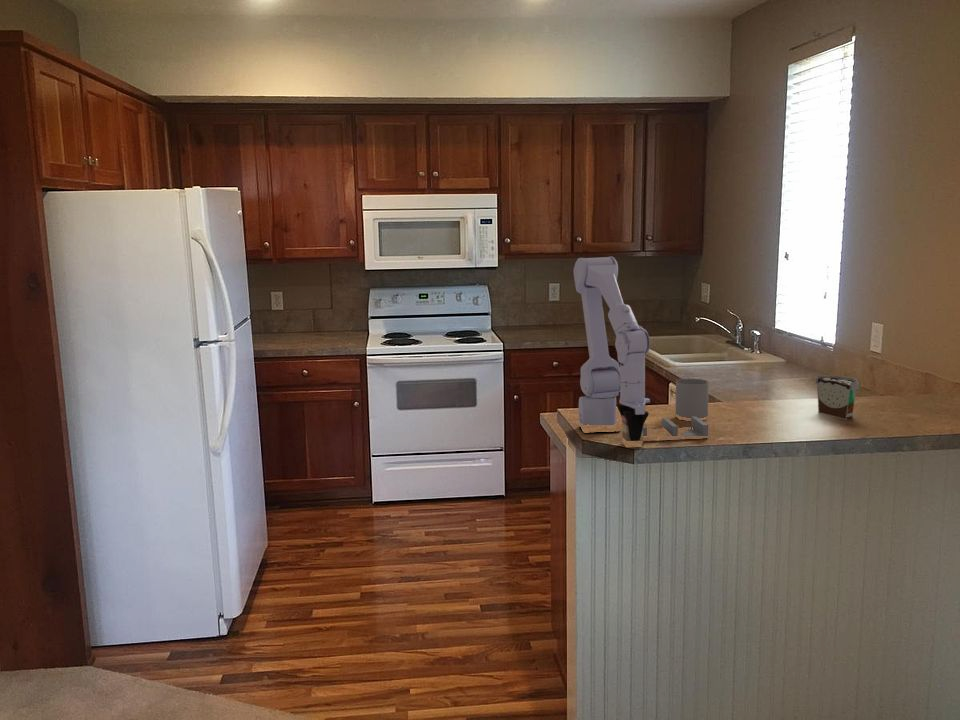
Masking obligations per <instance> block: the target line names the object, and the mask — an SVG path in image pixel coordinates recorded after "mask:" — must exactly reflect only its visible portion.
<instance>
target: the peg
mask: <svg viewBox="0 0 960 720" xmlns="http://www.w3.org/2000/svg"><path fill="white" fill-rule="evenodd" d="M621 427H622V428H621V429H622V431H621V434H622V436H621V437H623V438H624V439H625V440H626V441H631V440H630V436H629V429H628V424H627V420H626V417H625V415H622V417H621ZM638 441H643V429H642V434H641V438H640V440H638Z"/></svg>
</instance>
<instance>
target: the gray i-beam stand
mask: <svg viewBox="0 0 960 720" xmlns="http://www.w3.org/2000/svg"><path fill="white" fill-rule="evenodd" d="M661 424H662V426H663V427H664V428H665V429H666V430H667V431H668V432H669V433H670V434H671V435H672V436H678V427H679V426H678V425H677V424H675V423H674V421H672V420H671V419H669V417H662V423H661ZM662 426H661V427H662ZM690 426H691V429H690V430H689V429H688V430H686V431H685V432H683V433H684V434H683V435H682V436H708V437H709V424H708V423H706V422H705V421H702V420H700V419H699V418H698V417H696V416H693V417H691V422H690ZM692 427H693V430H692ZM647 428H648V427H647V426H646V425H645V424H644V425H643V436H647ZM687 431H688V432H687Z"/></svg>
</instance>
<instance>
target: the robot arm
mask: <svg viewBox="0 0 960 720" xmlns="http://www.w3.org/2000/svg"><path fill="white" fill-rule="evenodd" d="M618 276H619V264H618V261H617V260H616V258H615V257H614V256H607V257H587V258H586V257H578V258H577V260H576V261H575V264H574V267H573V279H574V287H575V290H576V292H577V293H578V294H580V295H581V302H582V310H583V318H584V325H585V326H584V327H585V333H586V340H587V341H586V342H587V348H588V349H587V350H588V355H589V358H588V360H586V362H584V363H583V364H582V365H581V367H580V370H579V371H580V380H579V383H580V384H579V385H580V389H581V391H582V393H583V394H584V395H585V396H580V397H579V398H578V422H579V421H580V423H582V424H583V425H587V424H589V425H614V424H616V425H617V410H618V412H619V414H620V417H621V418H622V415H625V417H626V420H627V424H628V429H629V436H630V440H631V441H638V440H640V438H641V434H642V429H643V425H645V422H646V420H647V418H648V417H649V411H646V409H645V405H646V404H647V403H650V402H651V399H650V398H648V397H646V354H647V353H648V352H649V351H650V348H651V341H650V340H651V339H650V336H649V333H648V331H647V330H646V328H643V326H641V325H639V324H638V321H637V319H636V316H635V314H634V312H633V310H632V307H631V306H630V305H629V304H625V303H624V300H623V297H622V294H621V290H620V288H619V283H618V281H617V280H618ZM602 297H603V299H604V301H605V303H606V304H607V306H608V308H609V311H608V313H607V317H608V319H609V322H610V324H611V327H612V330H613V332H614V334H615V342H614V344H615V350H616V352H617V353H616V354H617V360H616V359H614V358H612V357H611V356H610V352H609V345H608V344H609V343H608V336H607V331H606V322H605V313H604V307H603V300H602ZM619 393H620V394H619ZM618 396H619V400H618V401H619V405H617V397H618Z"/></svg>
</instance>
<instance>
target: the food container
mask: <svg viewBox="0 0 960 720" xmlns="http://www.w3.org/2000/svg"><path fill="white" fill-rule="evenodd" d="M814 384H816V385H817V387H816V388H817V390H816V392H817V408H818V409H817V410H818V413H819V414H821V413H822V414H821V415H825V414H826V415H825V416H829V415H830V416H829V417H833V416H834V417H833V418H836V417H838V419H840V418H842V419H841V420H844V419H845V421H847V420H846V419H849V420H851V419H853V413H854V409H855V408H854V407H855V401H856V400H855V399H856V393H857V391H858V390H859V389H860V384H859V381H858V380H857V378H853V377H851V376H844V375H830V374H829V375H824V374H823V375H817V376H816V378H815V382H814Z"/></svg>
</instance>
